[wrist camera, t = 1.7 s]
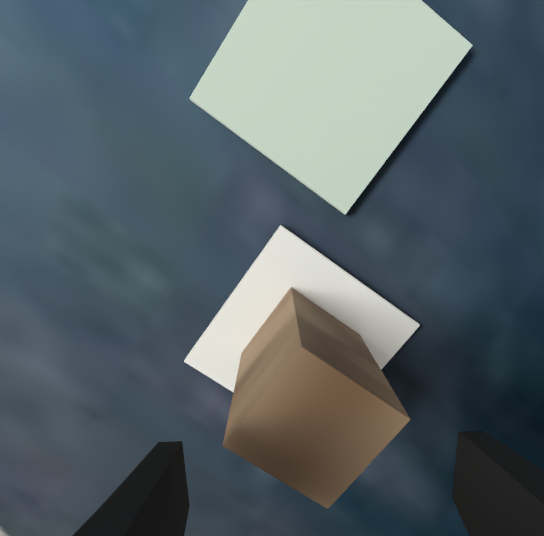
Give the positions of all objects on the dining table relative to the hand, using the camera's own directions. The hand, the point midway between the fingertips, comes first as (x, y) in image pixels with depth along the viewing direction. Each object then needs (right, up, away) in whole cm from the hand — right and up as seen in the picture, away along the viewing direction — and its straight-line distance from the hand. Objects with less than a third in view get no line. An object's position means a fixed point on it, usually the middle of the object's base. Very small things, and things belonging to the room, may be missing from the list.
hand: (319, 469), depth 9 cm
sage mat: (+1, +13, +5) cm, 14 cm away
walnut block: (0, +2, +7) cm, 7 cm away
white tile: (0, +2, +8) cm, 8 cm away
